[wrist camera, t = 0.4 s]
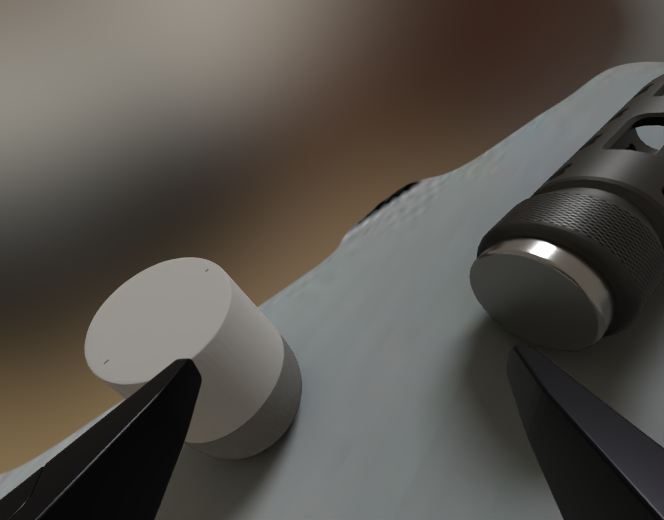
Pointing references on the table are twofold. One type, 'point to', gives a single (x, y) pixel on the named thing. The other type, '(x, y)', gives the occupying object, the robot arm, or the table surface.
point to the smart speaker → (200, 353)
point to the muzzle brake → (582, 239)
